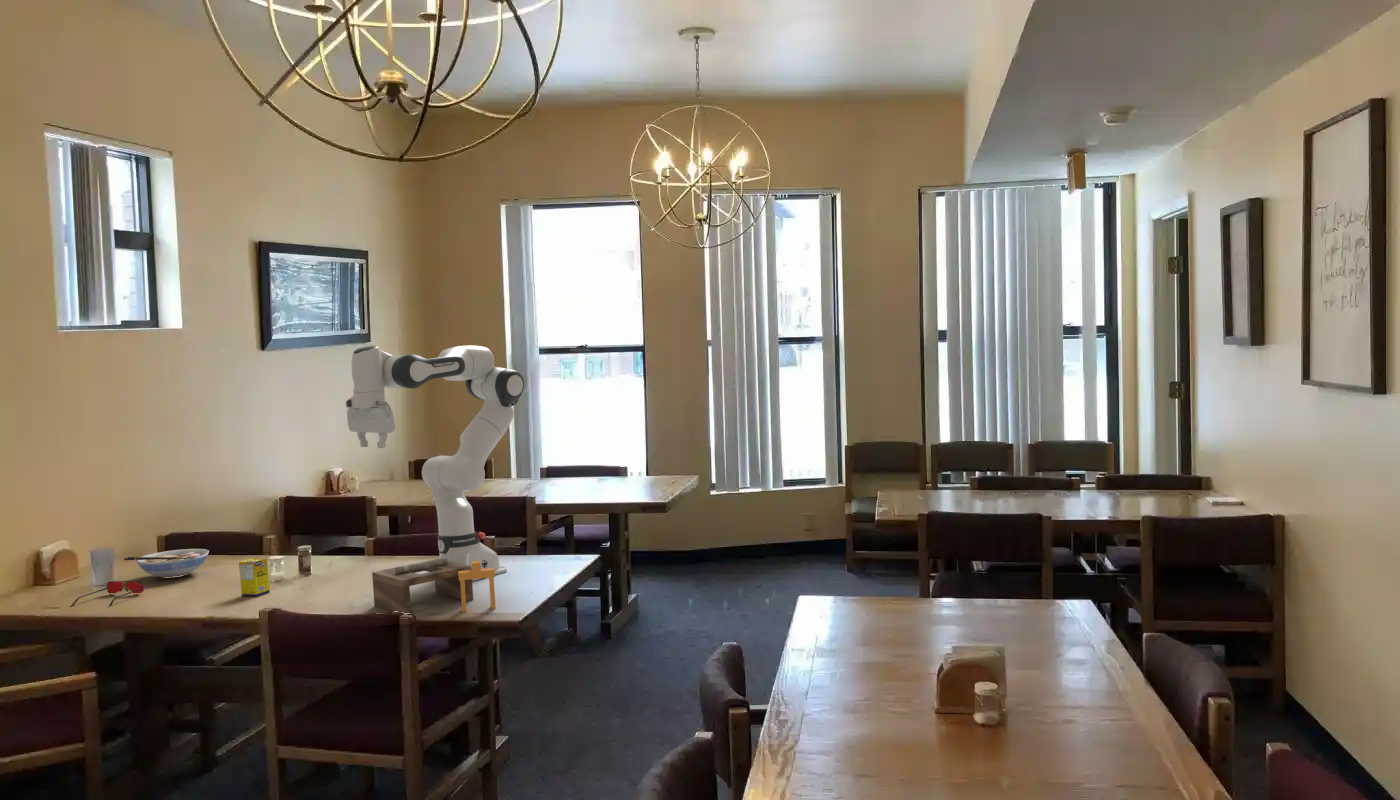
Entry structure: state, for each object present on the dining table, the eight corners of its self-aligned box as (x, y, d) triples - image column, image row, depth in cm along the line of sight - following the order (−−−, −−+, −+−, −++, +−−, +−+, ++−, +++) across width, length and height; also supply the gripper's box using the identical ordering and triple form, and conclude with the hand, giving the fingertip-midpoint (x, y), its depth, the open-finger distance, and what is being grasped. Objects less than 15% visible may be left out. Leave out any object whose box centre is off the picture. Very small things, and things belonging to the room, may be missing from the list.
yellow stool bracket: (460, 609, 310) (457, 562, 309) (496, 606, 313) (493, 559, 312) (460, 612, 307) (457, 564, 307) (497, 608, 310) (494, 561, 309)
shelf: (441, 591, 334) (439, 552, 334) (473, 599, 321) (470, 559, 321) (374, 606, 319) (371, 565, 319) (404, 615, 306) (401, 573, 306)
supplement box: (270, 592, 345) (267, 558, 344) (256, 597, 339) (254, 562, 338) (254, 591, 347) (252, 557, 346) (241, 596, 341) (238, 561, 340)
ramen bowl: (227, 568, 386) (225, 545, 385) (186, 584, 363) (184, 559, 363) (163, 569, 390) (161, 546, 389) (119, 584, 368) (117, 560, 367)
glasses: (146, 595, 351) (145, 579, 351) (109, 608, 335) (107, 592, 334) (108, 595, 354) (107, 580, 353) (69, 608, 338) (68, 592, 337)
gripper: (398, 400, 321) (401, 447, 322) (360, 400, 335) (364, 445, 336) (379, 402, 317) (382, 450, 318) (342, 401, 330) (345, 447, 331)
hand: (373, 447), depth 327 cm, fingers open, 8 cm apart
